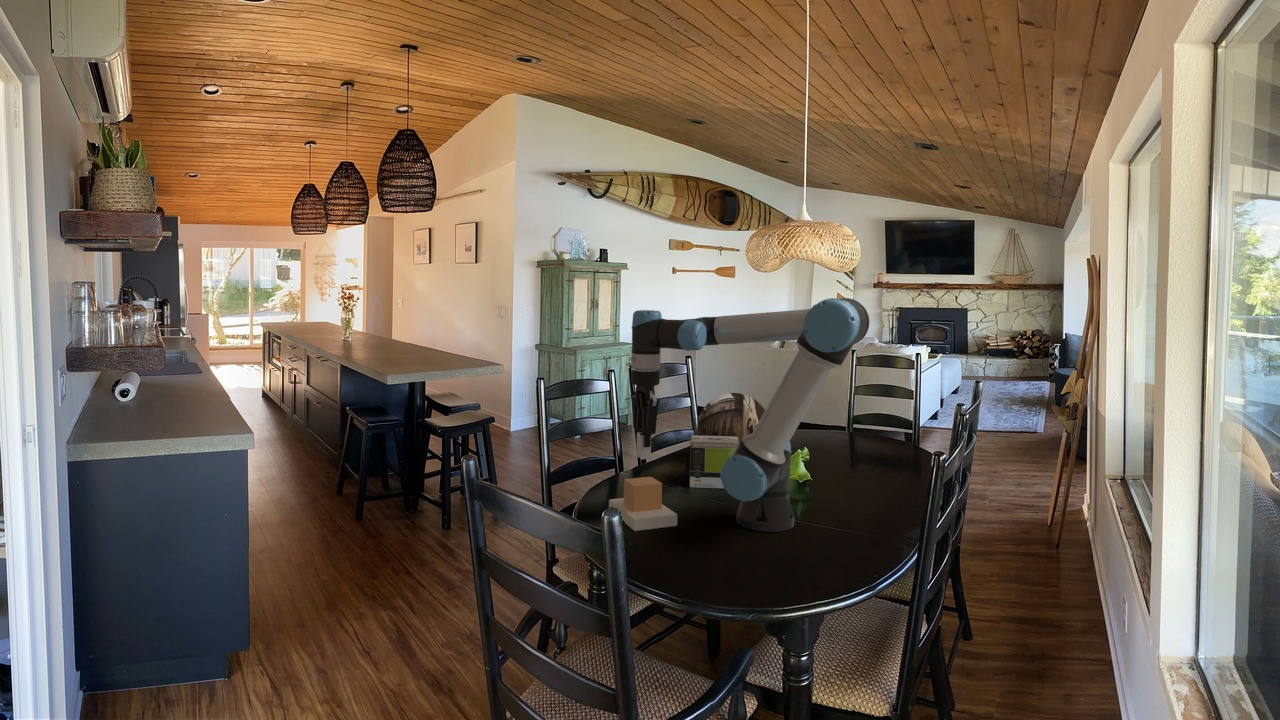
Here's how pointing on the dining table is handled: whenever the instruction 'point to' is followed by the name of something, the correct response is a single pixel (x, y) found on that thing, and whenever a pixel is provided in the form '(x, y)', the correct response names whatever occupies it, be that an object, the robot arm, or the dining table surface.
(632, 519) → the socket plate
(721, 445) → the tea box
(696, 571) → the dining table surface
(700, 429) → the sphere
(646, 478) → the plug
